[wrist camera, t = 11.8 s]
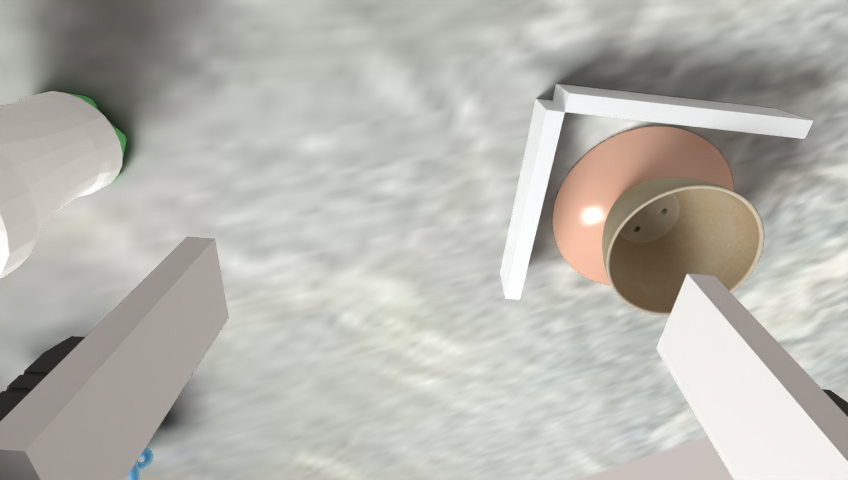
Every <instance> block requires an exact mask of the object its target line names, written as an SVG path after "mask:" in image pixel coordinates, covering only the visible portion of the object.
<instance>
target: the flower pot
mask: <svg viewBox="0 0 848 480" xmlns="http://www.w3.org/2000/svg"><path fill="white" fill-rule="evenodd" d="M663 209H665V210H663ZM639 227H640V228H639ZM637 228H639V230H638V231H637ZM763 246H764V227H763V223H762V219H761V217H760V215H759V213H758V211H757V210H756V208H755V207H754V206H753V205H752V204H751V203H750V202H749V201H748V200H747V199H746V198H745V197H743V196H742V195H740V194H738V193H736V192H734V191H732V190H730V189H728V188H726V187H723V186H720V185H718V184H715V183H711V182H708V181H703V180H699V179H693V178H684V177H666V178H657V179H652V180H648V181H645V182H642V183H639V184H637V185H635V186H633V187H631V188H630V189H628V190H626V191H625V192H624V193H623V194H622V195H621V196H620V197H619V198H618V199H617V200H616V201H615V203H614V204H613V206H612V207H611V209H610V211H609V214H608V216H607V218H606V221H605V225H604V230H603V236H602V254H603V261H604V266H605V270H606V274H607V277H608V280H609V282H610V285H611V287H612V289H613V290H614V292H615V293H616V294H617V295H618V297H619V298H620V299H621V300H623V301H624V302H625V303H626V304H628V305H629V306H631V307H633V308H635V309H637V310H639V311H642V312H645V313H649V314H654V315H670V314H671V311H672V309H673V307H674V304H675V302H676V299H677V297H678V294H679V292H680V290H681V287H682V285H683V282H684V280H685V277H686V275H687V274H701V275H715V277H716V278H717V279H718V280H719V281H720V282H721V283H722V284H723V285H724V286H725V287H726V288H727V289H728V290H729V291H730V292H731V293H733V292H734V291H735V290H736V289H738V288H739V287H740V286H741V285H742V284H743V283H744V282H745V281H746V280H747V278H748V277H749V276H750V275H751V273H752V272H753V270H754V269H755V267H756V265H757V263H758V262H759V259H760V257H761V254H762V250H763Z"/></svg>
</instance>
